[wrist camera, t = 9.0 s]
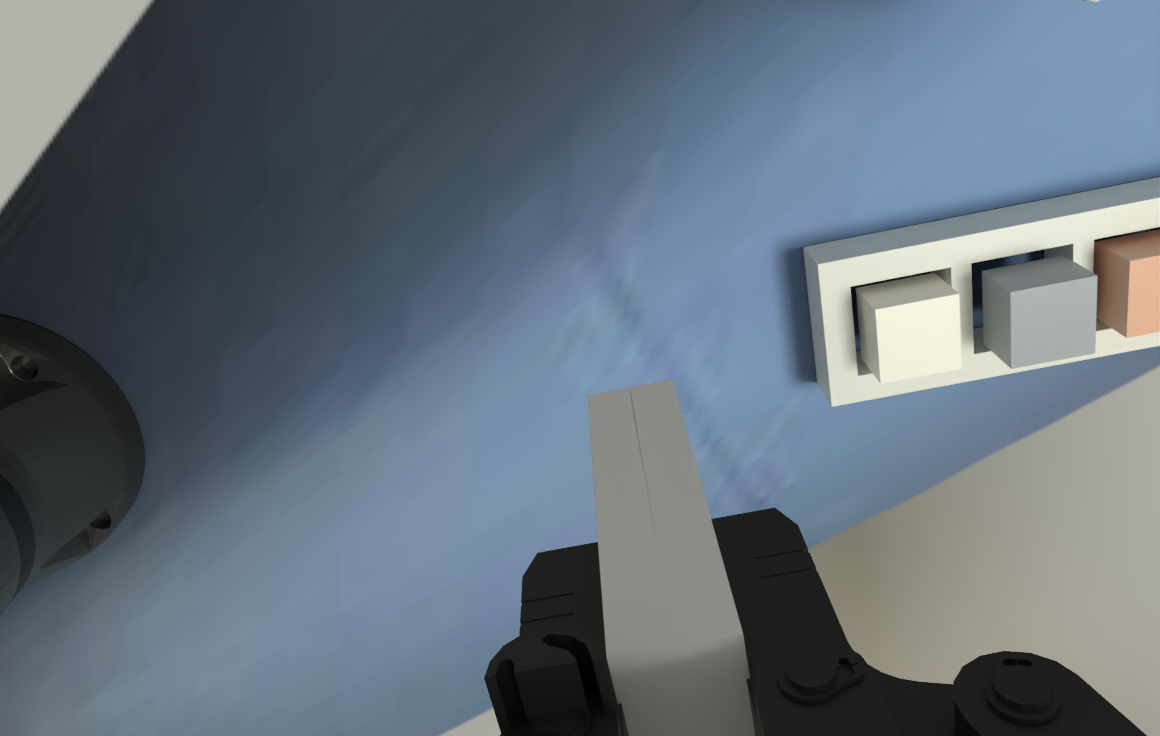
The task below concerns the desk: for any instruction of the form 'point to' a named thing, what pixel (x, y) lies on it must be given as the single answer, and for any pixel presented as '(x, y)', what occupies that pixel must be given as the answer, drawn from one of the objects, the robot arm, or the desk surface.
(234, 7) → the desk surface
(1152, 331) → the key terracotta
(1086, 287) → the key slate
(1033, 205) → the keypad housing
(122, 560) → the desk surface
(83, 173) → the desk surface
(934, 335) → the key ivory
